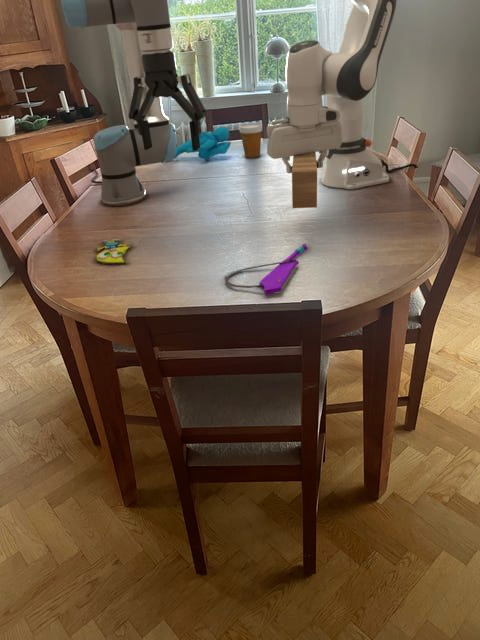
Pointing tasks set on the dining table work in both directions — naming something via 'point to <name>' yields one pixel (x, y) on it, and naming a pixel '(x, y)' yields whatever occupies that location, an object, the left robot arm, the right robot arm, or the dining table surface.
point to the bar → (304, 181)
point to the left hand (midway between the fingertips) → (172, 149)
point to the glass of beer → (251, 139)
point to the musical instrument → (275, 273)
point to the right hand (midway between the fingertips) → (304, 170)
